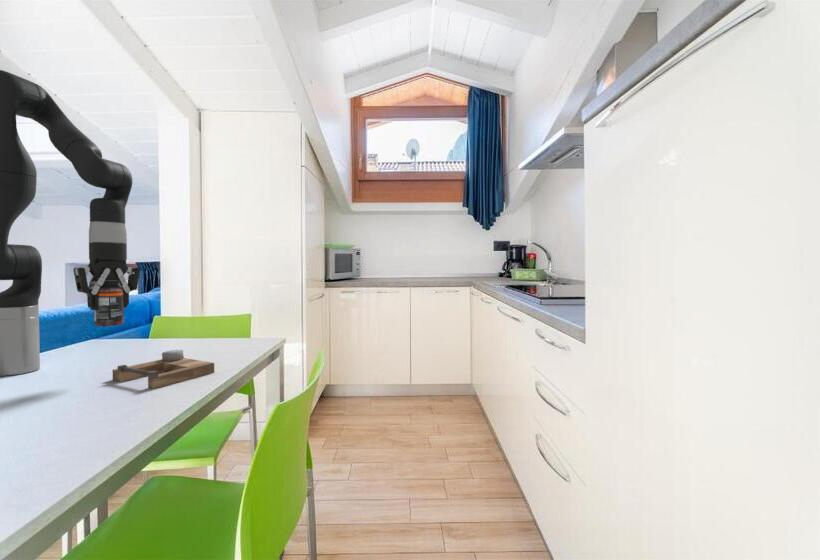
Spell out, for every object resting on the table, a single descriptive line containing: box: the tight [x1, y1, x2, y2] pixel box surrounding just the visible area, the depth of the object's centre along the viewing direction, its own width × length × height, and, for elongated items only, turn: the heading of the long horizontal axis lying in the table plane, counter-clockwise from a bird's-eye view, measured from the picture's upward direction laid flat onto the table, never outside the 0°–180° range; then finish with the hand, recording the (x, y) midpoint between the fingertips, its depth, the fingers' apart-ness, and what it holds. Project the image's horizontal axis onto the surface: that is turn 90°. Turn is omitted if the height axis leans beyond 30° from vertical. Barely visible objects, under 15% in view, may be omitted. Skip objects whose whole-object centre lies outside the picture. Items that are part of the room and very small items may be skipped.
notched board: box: [111, 357, 215, 390], centre depth 102 cm, size 16×16×4 cm
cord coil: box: [161, 349, 185, 361], centre depth 109 cm, size 5×5×2 cm
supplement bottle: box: [93, 280, 125, 327], centre depth 99 cm, size 6×6×11 cm
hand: (108, 308), depth 99 cm, fingers closed on supplement bottle, 6 cm apart
